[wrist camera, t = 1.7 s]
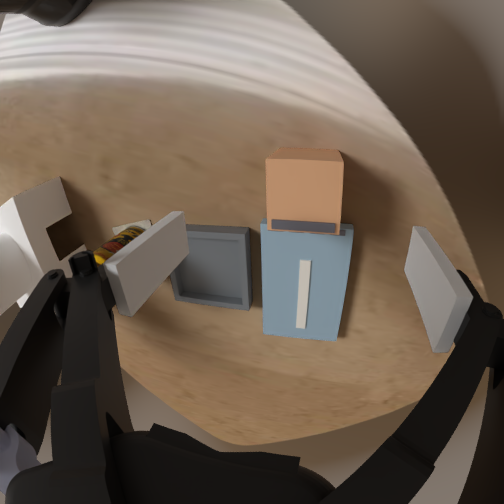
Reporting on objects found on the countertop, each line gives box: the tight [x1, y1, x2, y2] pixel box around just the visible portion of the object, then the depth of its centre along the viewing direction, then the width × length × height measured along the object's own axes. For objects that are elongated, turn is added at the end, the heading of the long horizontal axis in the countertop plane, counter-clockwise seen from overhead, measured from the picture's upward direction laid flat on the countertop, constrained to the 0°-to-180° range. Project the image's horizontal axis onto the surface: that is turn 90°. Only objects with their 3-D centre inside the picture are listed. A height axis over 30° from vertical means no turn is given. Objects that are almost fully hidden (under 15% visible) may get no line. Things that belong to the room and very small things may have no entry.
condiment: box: [72, 220, 152, 277], centre depth 34 cm, size 7×8×12 cm
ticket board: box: [260, 218, 354, 341], centre depth 34 cm, size 16×10×2 cm, turn 2°
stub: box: [266, 148, 344, 235], centre depth 25 cm, size 6×6×8 cm
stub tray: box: [170, 224, 253, 311], centre depth 36 cm, size 11×11×2 cm
